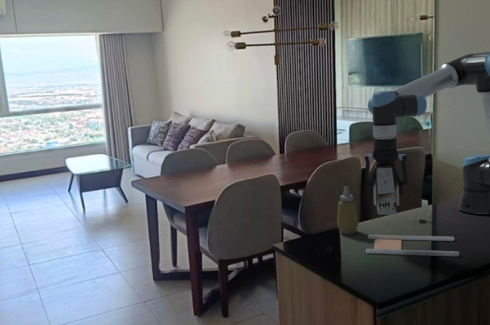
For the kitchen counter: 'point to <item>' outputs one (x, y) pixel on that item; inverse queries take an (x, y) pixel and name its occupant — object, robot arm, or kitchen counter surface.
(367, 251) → the rail
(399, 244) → the pad
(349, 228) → the squeeze bottle
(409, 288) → the kitchen counter surface
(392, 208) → the coffee box
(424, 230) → the kitchen counter surface
